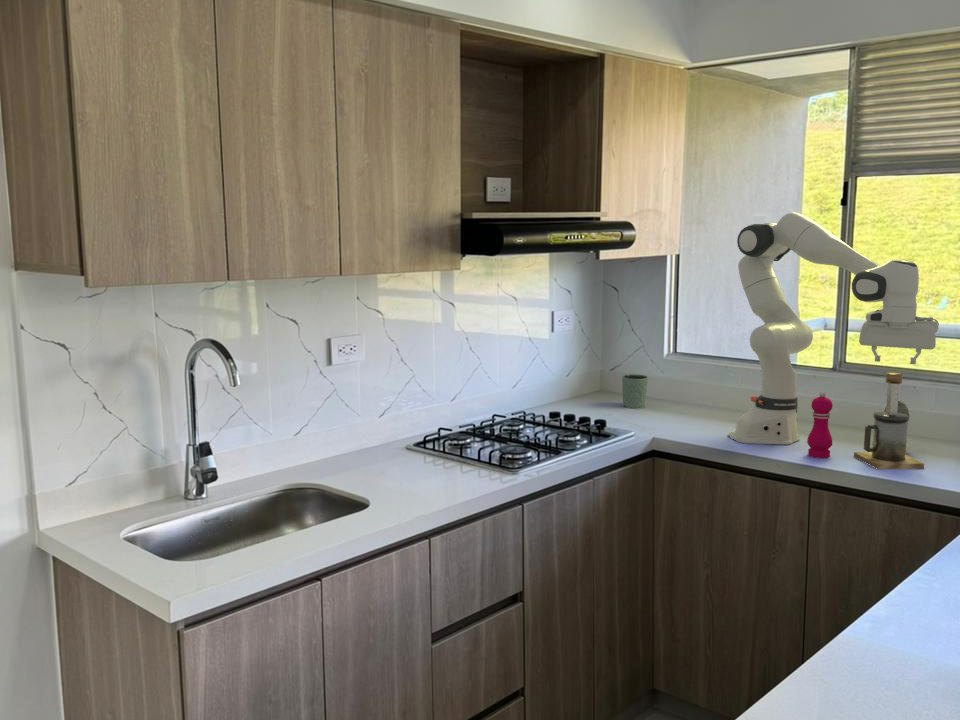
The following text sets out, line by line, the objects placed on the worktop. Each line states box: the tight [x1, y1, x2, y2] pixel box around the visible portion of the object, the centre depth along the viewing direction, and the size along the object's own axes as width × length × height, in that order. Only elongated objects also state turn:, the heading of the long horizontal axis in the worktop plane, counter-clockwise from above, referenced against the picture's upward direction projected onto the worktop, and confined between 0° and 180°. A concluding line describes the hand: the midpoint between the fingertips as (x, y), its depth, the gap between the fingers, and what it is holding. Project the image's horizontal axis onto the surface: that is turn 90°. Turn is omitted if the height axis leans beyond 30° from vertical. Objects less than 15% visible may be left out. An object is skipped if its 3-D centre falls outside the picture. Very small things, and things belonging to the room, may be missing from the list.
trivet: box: [853, 451, 925, 470], centre depth 257 cm, size 14×14×2 cm
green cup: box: [621, 373, 649, 409], centre depth 339 cm, size 10×10×12 cm
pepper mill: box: [806, 391, 834, 459], centre depth 263 cm, size 7×7×20 cm
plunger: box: [885, 372, 904, 415], centre depth 254 cm, size 4×4×12 cm
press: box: [863, 411, 910, 462], centre depth 255 cm, size 12×10×22 cm
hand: (895, 362), depth 253 cm, fingers open, 8 cm apart
